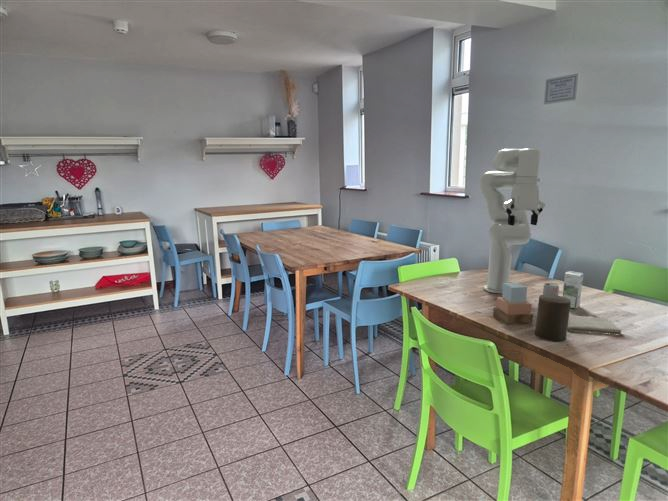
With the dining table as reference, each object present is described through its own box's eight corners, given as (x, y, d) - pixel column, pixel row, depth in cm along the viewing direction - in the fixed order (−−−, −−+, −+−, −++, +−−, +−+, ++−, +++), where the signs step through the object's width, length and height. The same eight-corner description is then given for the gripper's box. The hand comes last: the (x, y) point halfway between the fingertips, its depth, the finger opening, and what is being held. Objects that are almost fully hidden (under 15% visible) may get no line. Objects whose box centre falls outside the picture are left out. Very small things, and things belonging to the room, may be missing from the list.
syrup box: (579, 306, 178) (584, 272, 175) (576, 309, 174) (580, 275, 171) (564, 303, 182) (568, 270, 179) (560, 306, 177) (564, 272, 174)
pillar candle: (552, 344, 140) (557, 300, 137) (528, 333, 148) (532, 291, 146) (572, 339, 144) (578, 297, 141) (548, 329, 152) (553, 289, 149)
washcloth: (623, 337, 147) (625, 328, 147) (567, 333, 150) (568, 324, 150) (608, 324, 159) (609, 316, 158) (556, 321, 162) (557, 313, 161)
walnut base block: (516, 315, 168) (517, 305, 167) (532, 324, 158) (533, 314, 157) (492, 316, 166) (493, 307, 165) (507, 326, 156) (508, 315, 155)
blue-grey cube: (516, 297, 164) (518, 282, 163) (525, 302, 158) (527, 287, 157) (502, 298, 163) (503, 283, 162) (510, 303, 157) (511, 287, 156)
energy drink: (543, 310, 172) (546, 281, 170) (557, 313, 168) (561, 284, 166) (538, 313, 169) (541, 284, 166) (553, 317, 165) (556, 287, 162)
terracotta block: (518, 306, 166) (519, 296, 165) (530, 314, 157) (531, 303, 157) (496, 306, 165) (496, 297, 165) (507, 314, 157) (508, 304, 156)
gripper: (540, 181, 171) (536, 223, 174) (500, 181, 168) (497, 224, 171) (552, 181, 163) (548, 226, 167) (511, 181, 161) (507, 226, 164)
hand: (522, 224), depth 169 cm, fingers open, 9 cm apart
